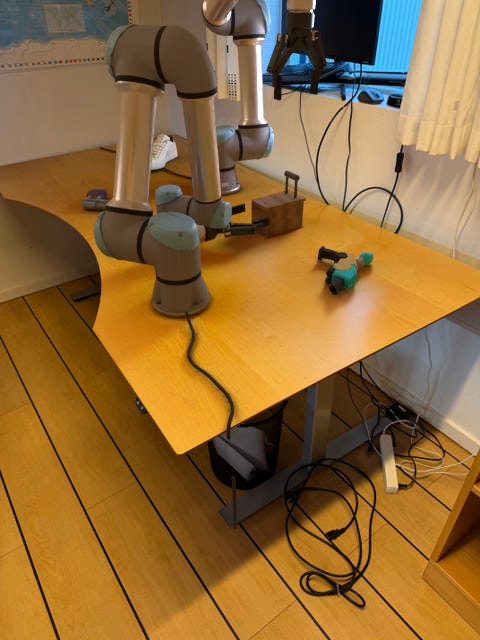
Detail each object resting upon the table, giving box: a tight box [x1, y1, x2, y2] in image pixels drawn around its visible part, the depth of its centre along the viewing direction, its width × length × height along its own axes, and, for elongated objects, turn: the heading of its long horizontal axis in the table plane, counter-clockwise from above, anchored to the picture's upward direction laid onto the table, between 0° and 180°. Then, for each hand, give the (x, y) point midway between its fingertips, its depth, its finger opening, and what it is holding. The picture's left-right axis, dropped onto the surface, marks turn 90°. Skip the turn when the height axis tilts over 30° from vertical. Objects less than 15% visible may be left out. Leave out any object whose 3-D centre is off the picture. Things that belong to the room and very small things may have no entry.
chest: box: [250, 201, 305, 239], centre depth 159 cm, size 15×9×9 cm, turn 123°
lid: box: [250, 170, 307, 212], centre depth 154 cm, size 16×9×9 cm, turn 123°
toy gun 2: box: [317, 245, 375, 296], centre depth 134 cm, size 4×26×15 cm
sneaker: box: [151, 133, 179, 171], centre depth 214 cm, size 10×29×12 cm, turn 163°
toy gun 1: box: [80, 188, 110, 211], centre depth 178 cm, size 4×19×15 cm
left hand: (256, 214), depth 156 cm, fingers open, 13 cm apart
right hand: (295, 96), depth 141 cm, fingers open, 13 cm apart
